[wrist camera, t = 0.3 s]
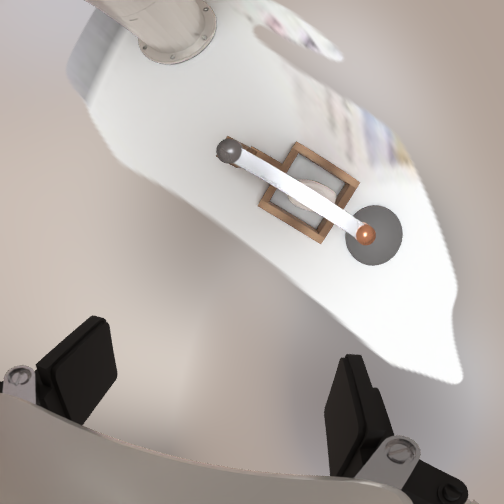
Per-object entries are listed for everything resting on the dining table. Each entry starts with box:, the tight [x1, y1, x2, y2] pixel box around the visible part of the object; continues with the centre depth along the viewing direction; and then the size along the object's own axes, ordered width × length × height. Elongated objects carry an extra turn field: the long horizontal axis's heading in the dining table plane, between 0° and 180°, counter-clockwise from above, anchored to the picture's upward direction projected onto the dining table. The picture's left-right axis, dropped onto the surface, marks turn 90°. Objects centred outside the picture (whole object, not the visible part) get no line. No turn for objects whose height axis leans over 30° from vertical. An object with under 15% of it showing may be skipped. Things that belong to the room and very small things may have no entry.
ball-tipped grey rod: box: [216, 139, 376, 245], centre depth 28 cm, size 18×2×2 cm, turn 60°
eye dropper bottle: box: [288, 179, 336, 212], centre depth 36 cm, size 4×6×12 cm
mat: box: [346, 206, 402, 266], centre depth 42 cm, size 9×9×1 cm
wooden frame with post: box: [216, 136, 360, 244], centre depth 35 cm, size 16×10×13 cm, turn 60°
